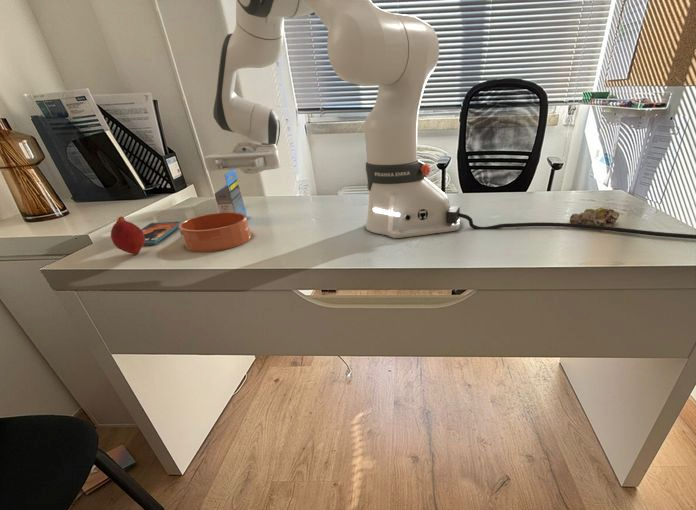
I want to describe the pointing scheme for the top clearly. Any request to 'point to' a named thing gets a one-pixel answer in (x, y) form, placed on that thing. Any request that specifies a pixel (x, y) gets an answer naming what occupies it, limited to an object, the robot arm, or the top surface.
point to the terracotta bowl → (215, 231)
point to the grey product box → (230, 195)
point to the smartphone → (158, 231)
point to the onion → (127, 236)
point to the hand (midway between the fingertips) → (236, 165)
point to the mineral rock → (596, 217)
